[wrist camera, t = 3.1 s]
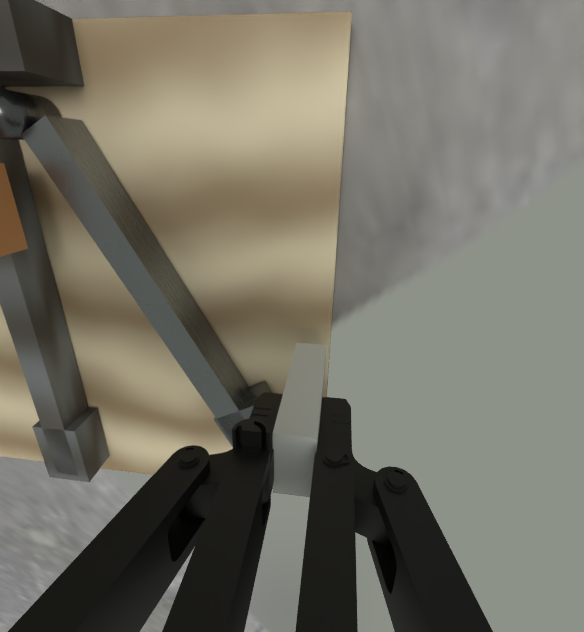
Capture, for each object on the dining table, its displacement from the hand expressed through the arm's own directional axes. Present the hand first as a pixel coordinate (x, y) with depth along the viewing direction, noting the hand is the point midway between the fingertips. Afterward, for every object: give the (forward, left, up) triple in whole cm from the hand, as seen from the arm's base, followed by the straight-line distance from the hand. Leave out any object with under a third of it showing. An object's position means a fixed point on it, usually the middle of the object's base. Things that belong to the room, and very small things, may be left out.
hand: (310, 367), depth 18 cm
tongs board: (-1, -12, -5) cm, 13 cm away
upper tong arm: (-2, -8, -3) cm, 9 cm away
